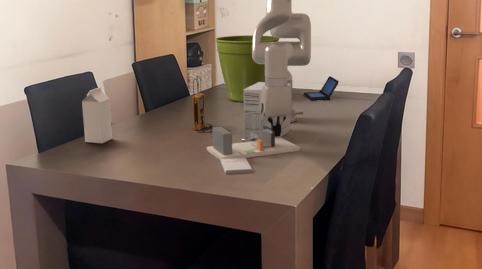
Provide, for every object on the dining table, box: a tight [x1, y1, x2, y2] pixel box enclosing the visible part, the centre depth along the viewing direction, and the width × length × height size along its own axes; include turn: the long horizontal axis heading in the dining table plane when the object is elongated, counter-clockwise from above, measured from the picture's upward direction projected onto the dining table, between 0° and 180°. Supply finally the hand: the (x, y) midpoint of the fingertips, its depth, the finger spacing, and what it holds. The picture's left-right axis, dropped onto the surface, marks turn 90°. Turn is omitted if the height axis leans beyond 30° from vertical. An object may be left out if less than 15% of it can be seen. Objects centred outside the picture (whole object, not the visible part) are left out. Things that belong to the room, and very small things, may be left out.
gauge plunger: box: [240, 126, 275, 149], centre depth 211 cm, size 10×10×6 cm
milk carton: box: [81, 86, 113, 144], centre depth 226 cm, size 7×7×19 cm
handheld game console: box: [303, 75, 340, 102], centre depth 300 cm, size 16×13×9 cm
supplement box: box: [243, 82, 291, 139], centre depth 232 cm, size 17×13×18 cm
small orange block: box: [257, 139, 263, 150], centre depth 208 cm, size 1×3×3 cm, turn 22°
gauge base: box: [206, 126, 301, 161], centre depth 212 cm, size 28×14×8 cm, turn 113°
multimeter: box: [191, 76, 214, 134], centre depth 242 cm, size 15×10×20 cm
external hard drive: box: [220, 158, 253, 175], centre depth 196 cm, size 2×8×12 cm
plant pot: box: [215, 34, 281, 103], centre depth 297 cm, size 30×30×29 cm
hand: (276, 135), depth 215 cm, fingers closed
